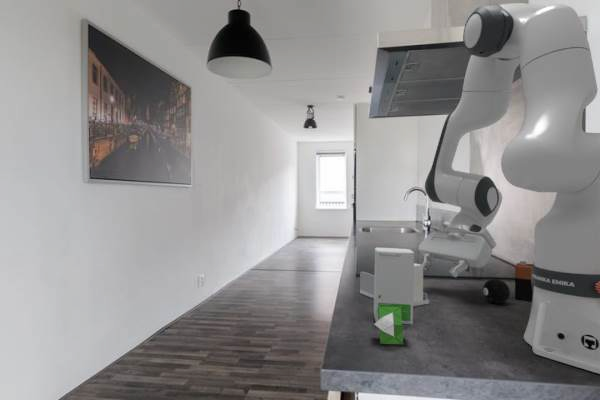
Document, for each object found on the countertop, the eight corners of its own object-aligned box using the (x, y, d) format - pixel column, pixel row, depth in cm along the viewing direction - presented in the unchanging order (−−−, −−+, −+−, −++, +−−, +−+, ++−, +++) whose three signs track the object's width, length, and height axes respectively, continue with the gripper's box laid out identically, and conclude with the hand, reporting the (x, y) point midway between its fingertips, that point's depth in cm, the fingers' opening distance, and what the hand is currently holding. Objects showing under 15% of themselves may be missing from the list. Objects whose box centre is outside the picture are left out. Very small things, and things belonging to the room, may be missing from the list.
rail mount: (429, 303, 94) (429, 280, 94) (398, 308, 89) (398, 284, 89) (388, 289, 108) (388, 268, 108) (360, 293, 104) (360, 271, 104)
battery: (545, 303, 94) (545, 264, 94) (514, 299, 98) (514, 261, 98) (546, 299, 97) (546, 262, 97) (516, 295, 101) (516, 259, 101)
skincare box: (374, 322, 80) (374, 251, 79) (373, 313, 86) (373, 246, 86) (414, 324, 78) (415, 251, 78) (410, 314, 85) (410, 247, 85)
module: (422, 300, 93) (423, 262, 93) (404, 303, 90) (404, 264, 90) (411, 296, 96) (411, 260, 96) (393, 299, 94) (393, 262, 94)
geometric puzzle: (369, 320, 75) (372, 295, 70) (404, 321, 74) (408, 296, 69) (372, 353, 69) (375, 329, 64) (409, 354, 69) (415, 330, 64)
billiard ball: (478, 299, 97) (478, 277, 97) (499, 299, 98) (499, 276, 98) (492, 306, 91) (492, 282, 91) (514, 305, 92) (515, 282, 92)
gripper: (429, 223, 110) (403, 257, 106) (491, 228, 92) (463, 271, 88) (439, 237, 112) (415, 271, 108) (502, 245, 94) (476, 287, 90)
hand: (437, 271), depth 98 cm, fingers open, 8 cm apart
